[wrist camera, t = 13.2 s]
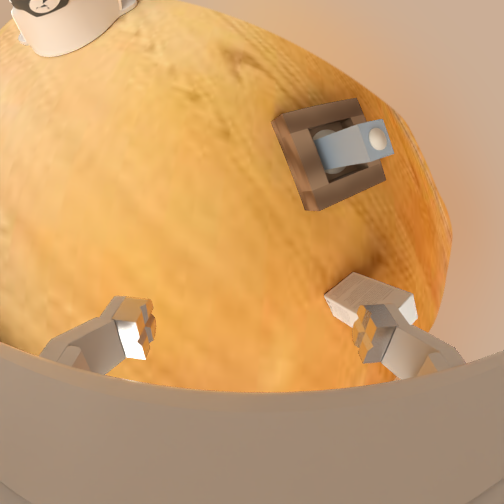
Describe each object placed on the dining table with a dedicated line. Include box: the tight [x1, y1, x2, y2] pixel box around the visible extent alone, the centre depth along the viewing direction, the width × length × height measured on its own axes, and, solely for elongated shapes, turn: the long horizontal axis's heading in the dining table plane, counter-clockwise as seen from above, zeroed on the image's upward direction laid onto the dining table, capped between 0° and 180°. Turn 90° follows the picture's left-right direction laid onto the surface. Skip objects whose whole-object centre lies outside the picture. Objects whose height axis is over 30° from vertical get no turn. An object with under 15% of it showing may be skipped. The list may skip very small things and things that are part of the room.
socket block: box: [271, 98, 386, 211], centre depth 32 cm, size 12×12×4 cm
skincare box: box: [324, 272, 418, 328], centre depth 33 cm, size 6×4×12 cm
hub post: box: [314, 119, 394, 170], centre depth 28 cm, size 4×4×9 cm
